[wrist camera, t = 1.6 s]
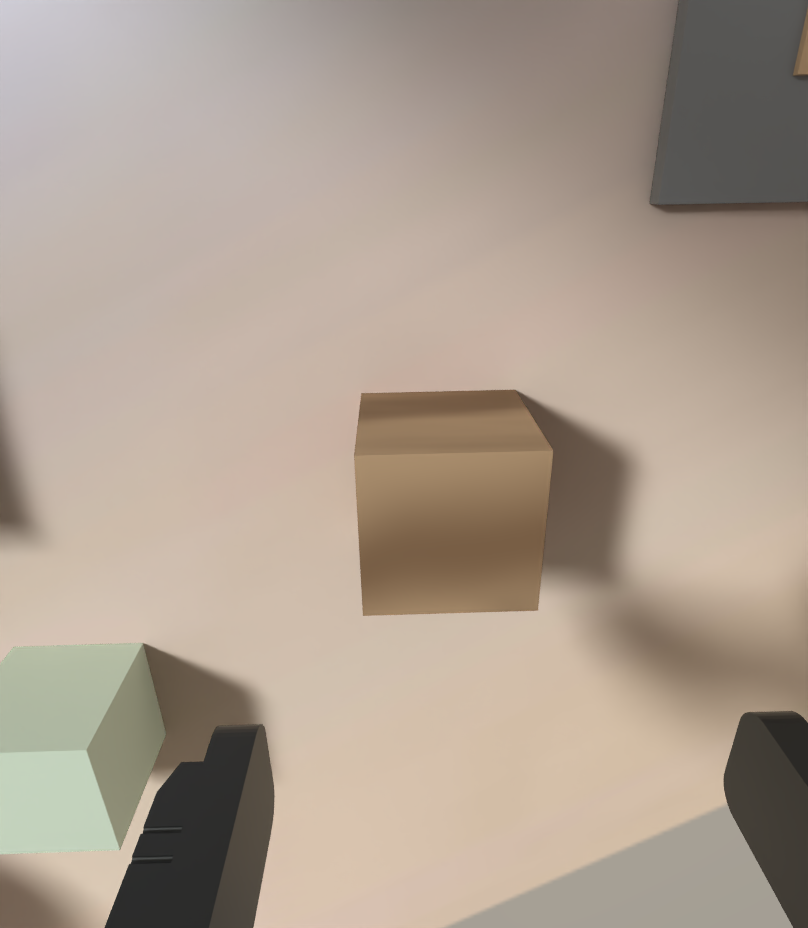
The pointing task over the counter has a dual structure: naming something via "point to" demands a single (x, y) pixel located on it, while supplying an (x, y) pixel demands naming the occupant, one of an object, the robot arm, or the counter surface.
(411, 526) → the walnut block
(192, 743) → the counter surface
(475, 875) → the counter surface
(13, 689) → the sage green block
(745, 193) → the card
